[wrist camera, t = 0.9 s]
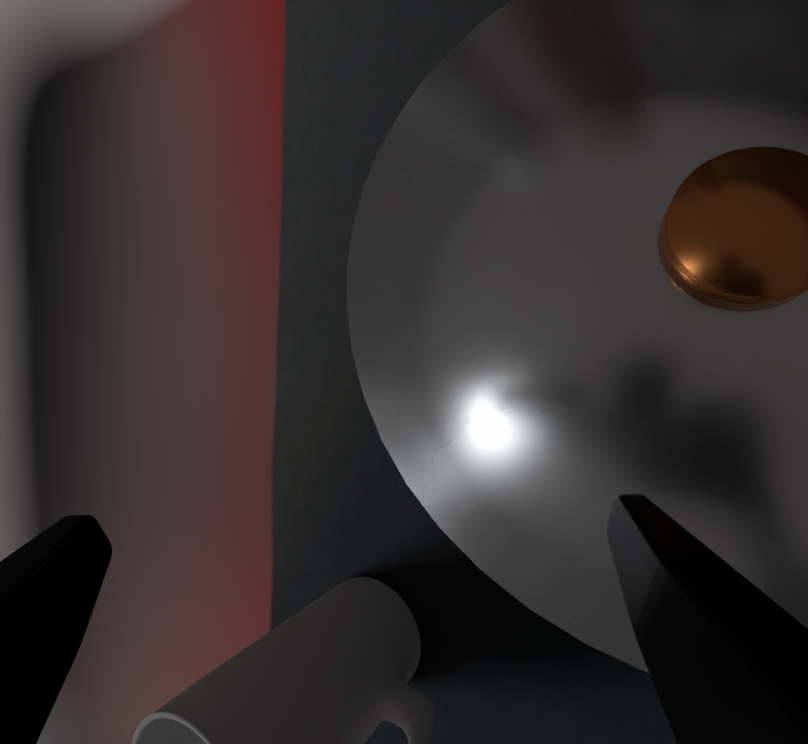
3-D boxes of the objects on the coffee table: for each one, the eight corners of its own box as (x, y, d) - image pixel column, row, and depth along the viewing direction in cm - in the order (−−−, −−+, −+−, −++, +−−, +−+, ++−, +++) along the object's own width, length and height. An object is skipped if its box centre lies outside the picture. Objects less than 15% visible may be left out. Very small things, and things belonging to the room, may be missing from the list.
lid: (1567, 197, 8) (1891, 107, 6) (787, 915, 8) (866, 1042, 6) (690, -145, 13) (716, -246, 11) (245, 290, 13) (202, 260, 12)
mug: (321, 655, 29) (124, 831, 19) (332, 553, 28) (133, 677, 18) (474, 745, 24) (326, 1050, 14) (494, 626, 23) (352, 855, 13)
